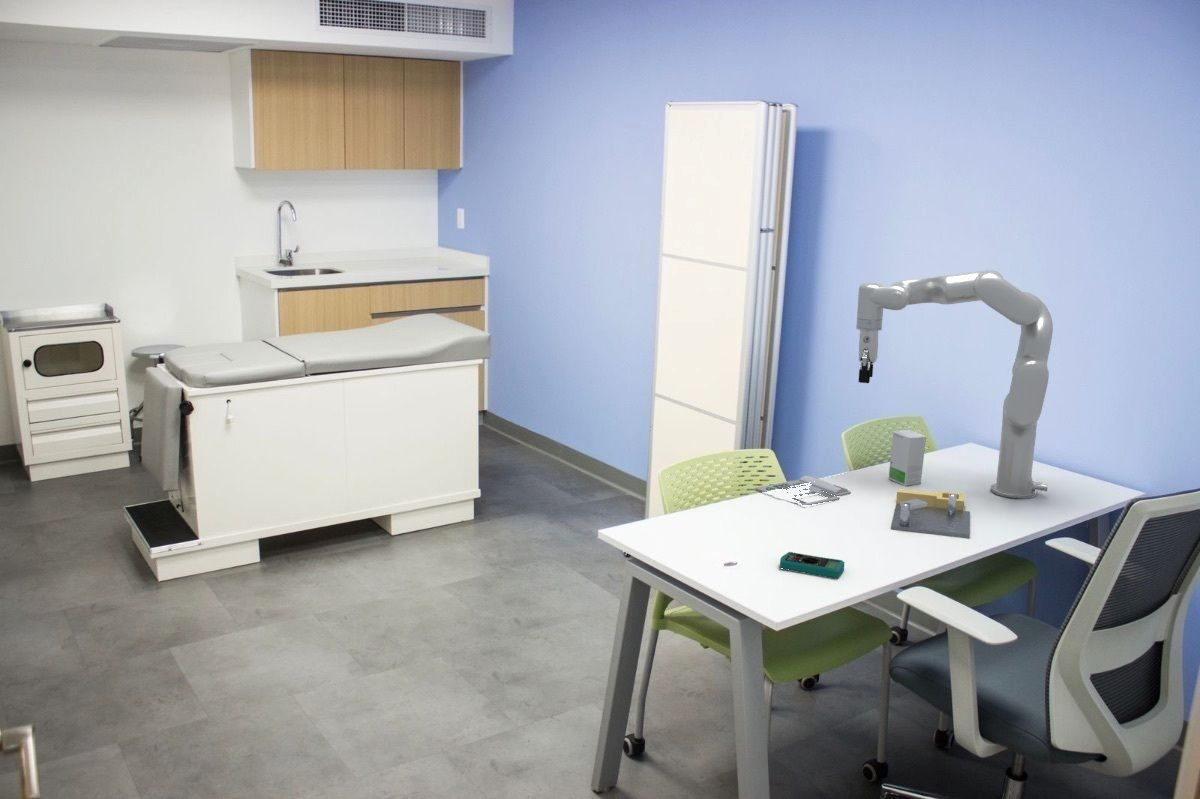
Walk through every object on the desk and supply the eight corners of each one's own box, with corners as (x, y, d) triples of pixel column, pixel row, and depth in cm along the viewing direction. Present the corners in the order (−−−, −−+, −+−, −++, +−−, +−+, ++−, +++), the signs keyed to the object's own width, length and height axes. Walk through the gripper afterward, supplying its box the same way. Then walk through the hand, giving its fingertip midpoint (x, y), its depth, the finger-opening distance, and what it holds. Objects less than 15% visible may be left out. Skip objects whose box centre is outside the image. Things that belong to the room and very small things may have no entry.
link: (963, 505, 301) (964, 493, 301) (963, 513, 295) (964, 501, 294) (897, 498, 307) (898, 486, 306) (895, 505, 300) (896, 494, 300)
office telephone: (811, 472, 326) (859, 489, 309) (810, 480, 326) (859, 497, 310) (755, 483, 313) (802, 501, 297) (754, 491, 314) (801, 510, 297)
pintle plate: (969, 514, 293) (971, 491, 292) (969, 538, 275) (971, 513, 273) (896, 506, 300) (897, 483, 298) (890, 529, 281) (892, 505, 280)
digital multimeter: (785, 560, 260) (785, 549, 259) (845, 570, 254) (845, 559, 253) (777, 570, 253) (777, 559, 253) (838, 581, 247) (839, 569, 246)
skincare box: (887, 479, 326) (891, 430, 322) (904, 476, 328) (908, 428, 325) (906, 486, 318) (909, 437, 315) (922, 484, 321) (926, 435, 317)
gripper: (879, 329, 308) (875, 386, 312) (884, 321, 324) (880, 375, 327) (853, 327, 310) (849, 384, 314) (859, 319, 326) (856, 373, 330)
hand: (865, 379), depth 321 cm, fingers open, 9 cm apart
